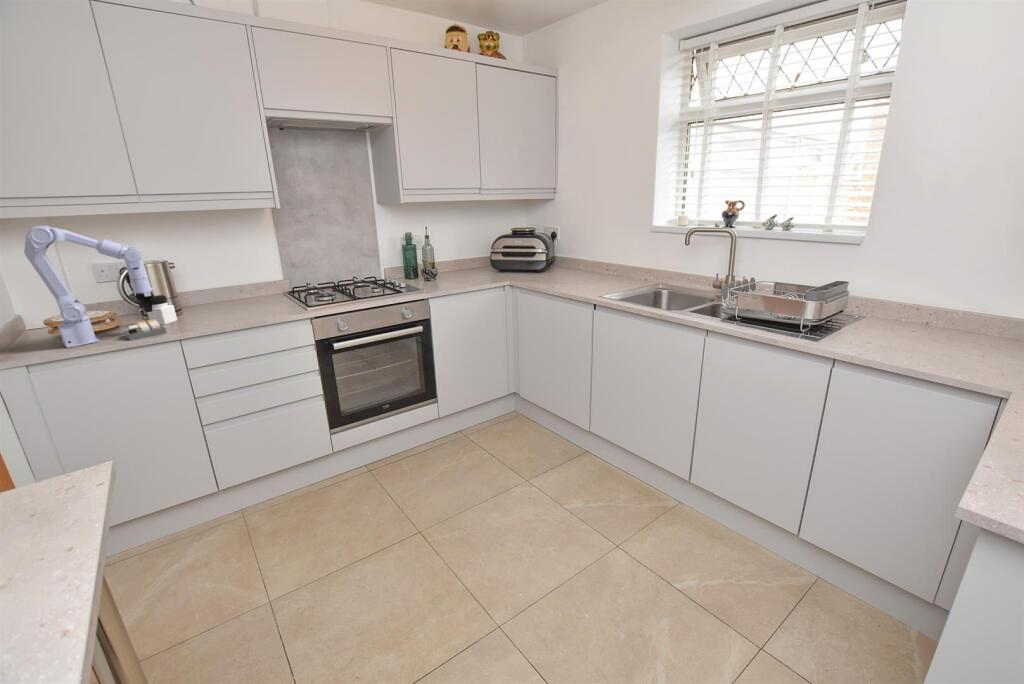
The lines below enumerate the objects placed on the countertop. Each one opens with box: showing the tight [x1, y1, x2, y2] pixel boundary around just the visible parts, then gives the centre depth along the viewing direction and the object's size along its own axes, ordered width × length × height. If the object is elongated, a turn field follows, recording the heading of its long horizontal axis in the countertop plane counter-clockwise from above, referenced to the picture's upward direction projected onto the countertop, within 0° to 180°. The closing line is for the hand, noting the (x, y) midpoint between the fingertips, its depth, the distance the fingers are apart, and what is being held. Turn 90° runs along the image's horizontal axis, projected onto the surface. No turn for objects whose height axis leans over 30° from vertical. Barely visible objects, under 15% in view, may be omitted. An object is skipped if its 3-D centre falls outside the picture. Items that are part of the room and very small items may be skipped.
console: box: [122, 325, 168, 341], centre depth 189 cm, size 12×10×2 cm
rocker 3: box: [146, 319, 160, 329], centre depth 190 cm, size 3×6×1 cm, turn 48°
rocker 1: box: [126, 324, 139, 331], centre depth 185 cm, size 3×6×1 cm, turn 48°
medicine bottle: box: [146, 294, 178, 326], centre depth 205 cm, size 7×7×12 cm
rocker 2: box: [136, 320, 150, 331], centre depth 188 cm, size 3×6×1 cm, turn 48°
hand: (148, 311), depth 190 cm, fingers closed
